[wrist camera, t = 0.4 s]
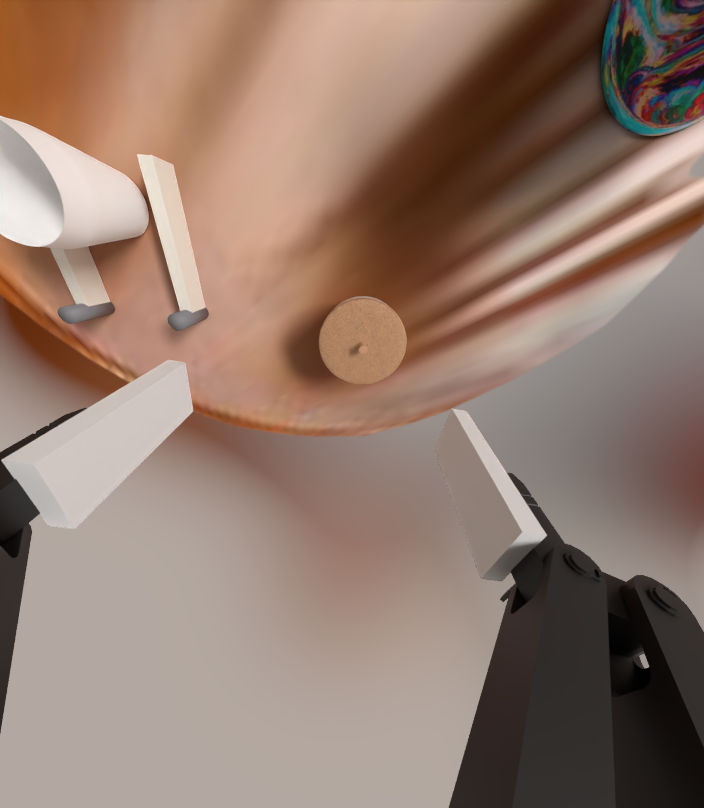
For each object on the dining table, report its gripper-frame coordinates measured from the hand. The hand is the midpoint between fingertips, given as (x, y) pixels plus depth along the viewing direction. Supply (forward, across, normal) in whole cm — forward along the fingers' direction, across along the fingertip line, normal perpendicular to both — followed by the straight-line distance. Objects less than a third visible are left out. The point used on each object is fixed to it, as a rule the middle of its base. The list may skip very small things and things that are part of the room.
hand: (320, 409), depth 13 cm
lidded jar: (+28, +3, -3) cm, 28 cm away
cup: (+28, -28, +6) cm, 40 cm away
